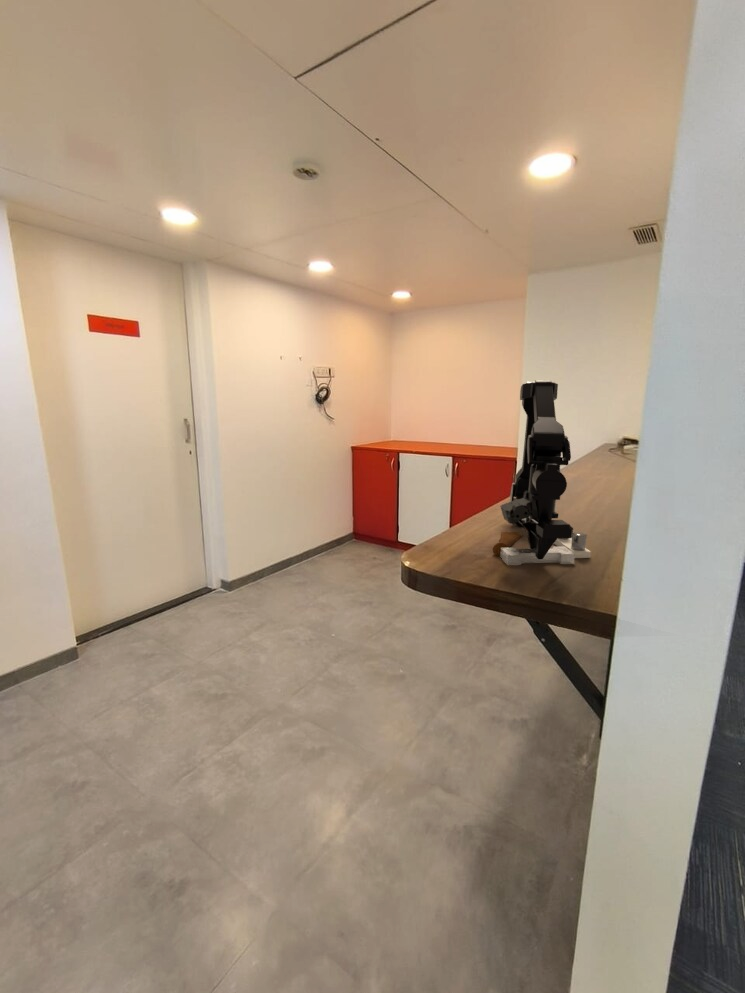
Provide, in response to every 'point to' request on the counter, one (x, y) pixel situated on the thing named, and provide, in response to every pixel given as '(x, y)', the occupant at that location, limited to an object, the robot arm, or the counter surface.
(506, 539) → the primitive tool
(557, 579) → the counter surface
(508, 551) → the spanner
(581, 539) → the peg rack
